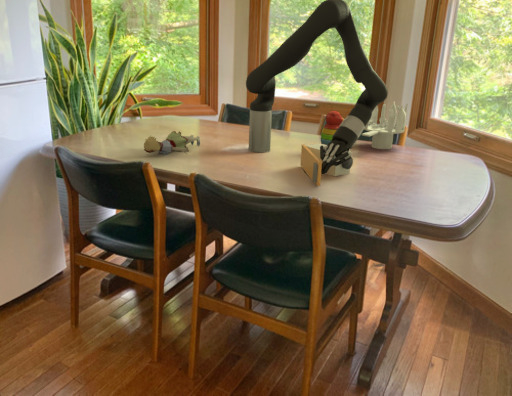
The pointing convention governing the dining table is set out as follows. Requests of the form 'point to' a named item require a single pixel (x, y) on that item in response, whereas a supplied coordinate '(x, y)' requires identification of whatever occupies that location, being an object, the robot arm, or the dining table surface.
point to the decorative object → (385, 126)
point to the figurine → (170, 143)
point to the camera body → (333, 170)
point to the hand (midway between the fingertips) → (320, 172)
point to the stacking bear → (331, 126)
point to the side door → (311, 165)
